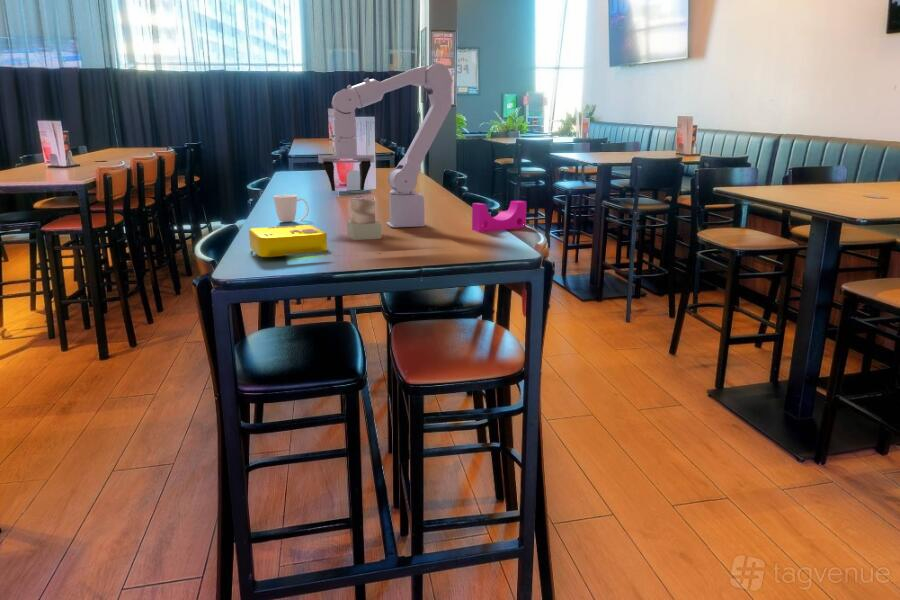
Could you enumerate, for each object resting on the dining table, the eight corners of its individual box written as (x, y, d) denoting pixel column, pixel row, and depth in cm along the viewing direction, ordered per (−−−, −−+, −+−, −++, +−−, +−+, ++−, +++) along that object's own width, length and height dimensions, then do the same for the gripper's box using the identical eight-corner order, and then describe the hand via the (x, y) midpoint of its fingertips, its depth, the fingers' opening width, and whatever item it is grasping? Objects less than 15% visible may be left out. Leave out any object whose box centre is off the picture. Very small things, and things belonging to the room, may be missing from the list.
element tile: (312, 242, 148) (311, 222, 147) (329, 252, 135) (328, 231, 134) (248, 246, 142) (247, 226, 140) (260, 258, 129) (258, 235, 127)
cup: (271, 223, 177) (269, 195, 174) (304, 221, 182) (303, 193, 180) (279, 226, 171) (277, 197, 169) (313, 223, 176) (311, 195, 174)
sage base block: (374, 235, 158) (374, 219, 157) (381, 239, 152) (381, 223, 151) (347, 236, 156) (347, 221, 155) (353, 241, 149) (353, 224, 148)
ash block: (367, 220, 155) (367, 198, 154) (375, 222, 152) (374, 200, 150) (351, 221, 153) (350, 199, 152) (358, 224, 149) (357, 201, 148)
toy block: (512, 226, 174) (513, 199, 172) (525, 229, 169) (526, 201, 167) (467, 229, 167) (467, 202, 165) (479, 233, 162) (479, 204, 160)
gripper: (370, 138, 166) (372, 188, 170) (316, 138, 162) (319, 189, 166) (374, 138, 160) (376, 190, 163) (318, 138, 156) (321, 191, 159)
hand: (347, 190), depth 164 cm, fingers open, 7 cm apart
